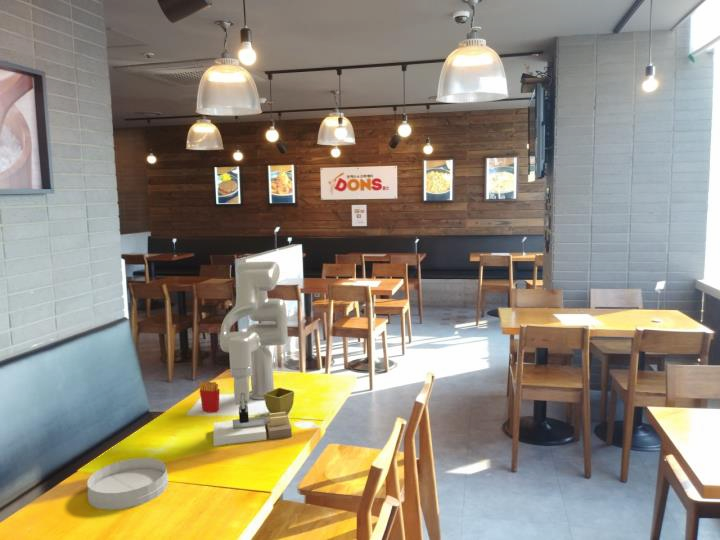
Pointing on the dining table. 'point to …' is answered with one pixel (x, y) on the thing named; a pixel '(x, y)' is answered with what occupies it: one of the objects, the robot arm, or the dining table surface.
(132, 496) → the dish
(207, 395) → the french fries
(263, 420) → the bolt
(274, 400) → the flower pot
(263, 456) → the dining table surface
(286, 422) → the slide latch panel
